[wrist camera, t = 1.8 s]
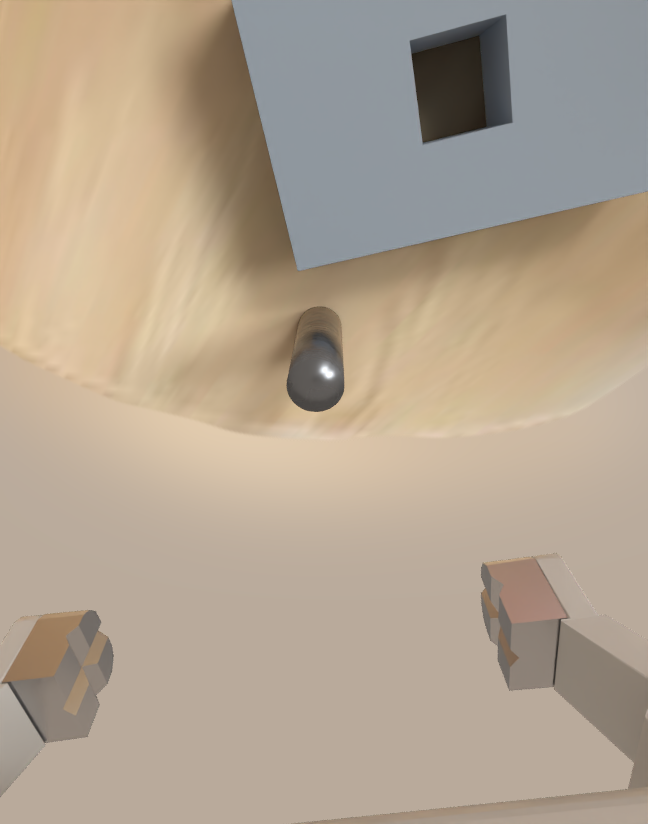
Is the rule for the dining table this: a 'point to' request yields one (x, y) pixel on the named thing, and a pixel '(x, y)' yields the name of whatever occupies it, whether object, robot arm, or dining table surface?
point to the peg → (317, 361)
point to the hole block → (454, 155)
